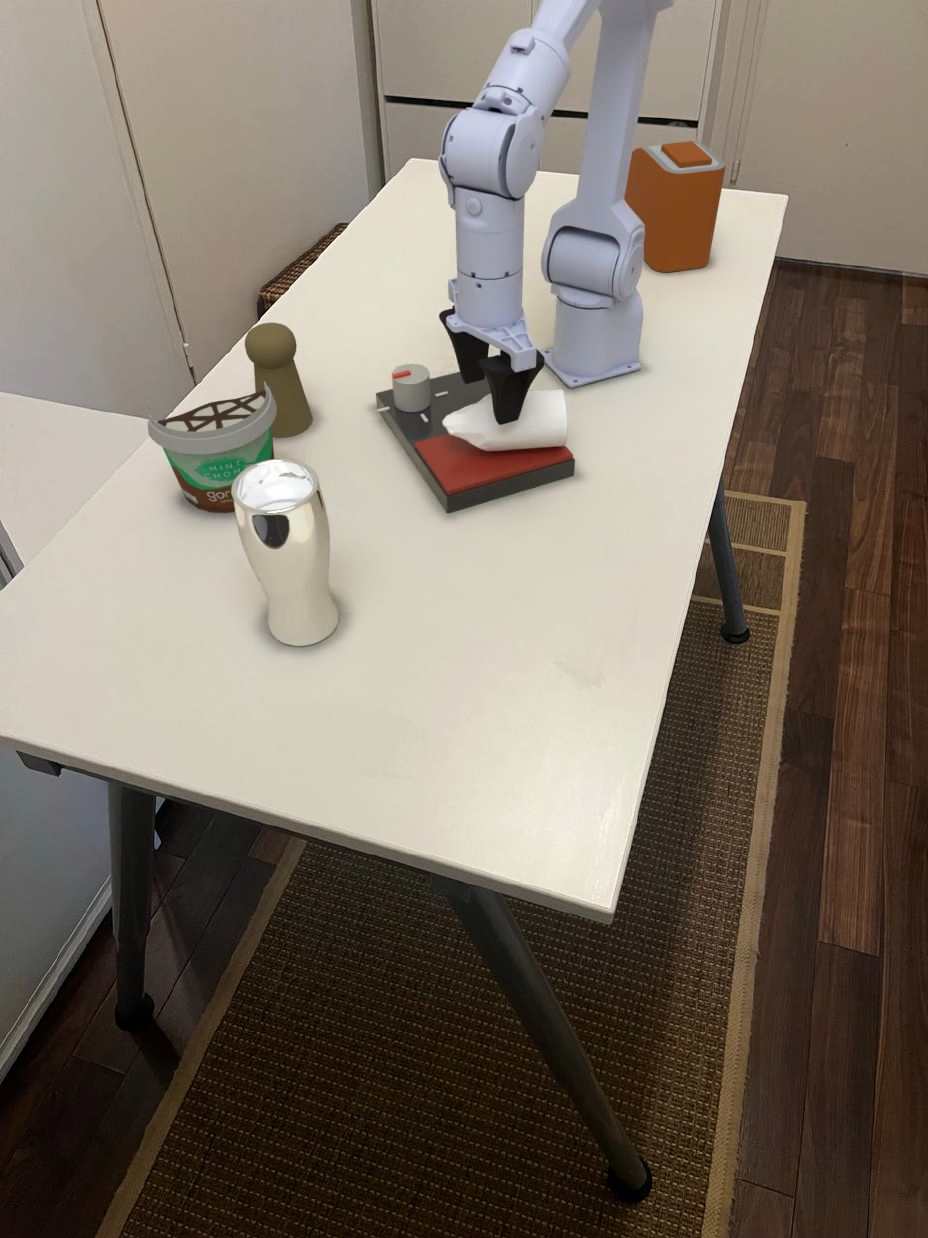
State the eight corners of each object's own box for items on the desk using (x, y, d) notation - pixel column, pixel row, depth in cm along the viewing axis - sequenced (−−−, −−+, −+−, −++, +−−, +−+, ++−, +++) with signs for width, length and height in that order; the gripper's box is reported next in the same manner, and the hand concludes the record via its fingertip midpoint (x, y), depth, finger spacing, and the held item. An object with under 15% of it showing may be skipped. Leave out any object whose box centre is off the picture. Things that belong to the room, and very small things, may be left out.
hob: (488, 375, 107) (488, 359, 105) (574, 475, 94) (575, 458, 92) (365, 407, 103) (363, 391, 101) (437, 516, 90) (436, 499, 88)
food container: (186, 536, 89) (159, 450, 81) (169, 500, 92) (142, 415, 85) (307, 496, 92) (291, 411, 85) (286, 463, 96) (269, 379, 89)
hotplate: (534, 414, 98) (534, 409, 98) (572, 459, 92) (573, 454, 92) (414, 447, 94) (414, 442, 94) (447, 495, 89) (447, 490, 88)
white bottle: (442, 432, 95) (438, 384, 91) (558, 423, 95) (559, 375, 91) (445, 467, 91) (442, 418, 87) (567, 457, 91) (569, 408, 87)
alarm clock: (715, 266, 124) (734, 161, 115) (655, 274, 123) (670, 168, 113) (673, 221, 134) (687, 120, 125) (617, 227, 133) (627, 126, 123)
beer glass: (310, 662, 77) (280, 525, 66) (247, 631, 80) (208, 494, 69) (360, 610, 81) (339, 474, 70) (298, 582, 84) (269, 446, 73)
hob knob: (422, 388, 102) (420, 357, 99) (436, 406, 99) (435, 375, 96) (388, 397, 101) (385, 366, 98) (401, 416, 98) (399, 384, 95)
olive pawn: (302, 440, 99) (286, 347, 91) (249, 434, 100) (228, 341, 92) (319, 408, 103) (305, 317, 95) (268, 403, 104) (250, 312, 96)
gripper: (415, 239, 83) (423, 372, 93) (483, 312, 74) (484, 451, 84) (486, 224, 85) (487, 356, 95) (561, 293, 76) (553, 431, 86)
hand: (490, 399), depth 89 cm, fingers open, 7 cm apart
